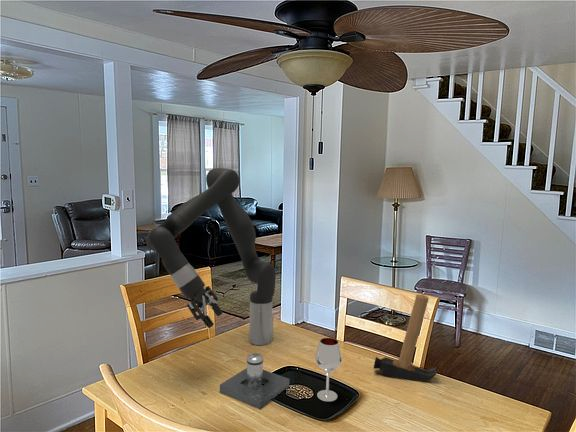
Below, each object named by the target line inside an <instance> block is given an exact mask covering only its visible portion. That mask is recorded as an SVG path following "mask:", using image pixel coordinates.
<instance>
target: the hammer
mask: <svg viewBox="0 0 576 432" xmlns="http://www.w3.org/2000/svg"><path fill="white" fill-rule="evenodd" d="M429 299H430V298H429V296H426V295H424V294H416V296H415V299H414V303H413V306H412V311H411V313H410V317H409V321H408V324H407V329H406V332H405V336H404V339H403V344H402V347H401V350H400V355H399V358H398V359H392V358H389V357H387V356H386V357H383V358H381V359H380V358H379V357H378V356H375V358H374V364H373V369H375V370H376V369H377V370H378V369H379V371H380V373H381V374H382V375H385V376H388V377H391V378H394V379H398V380H403V381H405V380H406V381H412V382H418V383H427V382H429V381H431V380H433V378H434V377H435V376H436V375H437V371H436V366H433V368H428V369H427V368H421V367H418V366H415V365H413V364H412V362H413V356H414V353H415V350H416V346H417V342H418V339H419V335H420V332H421V328H422V324H423V320H424V317H425V313H426V310H427V306H428V303H429Z"/></svg>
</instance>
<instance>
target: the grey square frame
mask: <svg viewBox="0 0 576 432" xmlns="http://www.w3.org/2000/svg"><path fill="white" fill-rule="evenodd" d="M262 384H264V385H262V387H261V388H259V389H258V390H256V389H254V388H251V387H249V386H247V367H246V368H245V369H242V370H241V371H239V372H238V373H236V374H235V375H233V376H231V377H230V378H229V379H226V380H225V381H223V382H222V383H219V393H220V394H223V395H226V396H228V397H230V398H232V399H235V400H237V401H240V402H242V403H244V404H247V405H249V406H251V407H255V408H256V409H259V410H261V409H262V408H263V407H264V406H266V405H267V404H268V403H270V402H271V401H272V400H273V399H275V398H276V397H277V396H279V395H280V394H281V393H282V392H284V391H285V390H286V389H288V388H289V387H290V378H288V377H285V376H282V375H280V374H277V373H273V372H271V371H269V370H266V369H263V373H262ZM278 394H279V395H278ZM272 398H273V399H272ZM271 399H272V400H271Z"/></svg>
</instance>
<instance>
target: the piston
mask: <svg viewBox="0 0 576 432" xmlns="http://www.w3.org/2000/svg"><path fill="white" fill-rule="evenodd" d="M263 356H264V355H262V354H261V353H255V352H254V353H250V354H247V355H246V368H247V386H249V387H251V388H254V389H256V390H258V389H259V388H261V387H262V386H263V385H262V373H263V370H264V369H263V366H264V365H263V363H264V357H263Z"/></svg>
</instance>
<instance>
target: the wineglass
mask: <svg viewBox="0 0 576 432" xmlns="http://www.w3.org/2000/svg"><path fill="white" fill-rule="evenodd" d="M342 358H343V356H342V351H341V348H340V343H339V340H338V339H336V338H334V337H333V338H332V337H324V338H321V339H320V340H319V341H318V347H317V350H316V353H315V363H316V366H318V367H319V369H321V370H322V371H323V372H324V373H325V376H326V380H325V382H326V383H325V384H326V385H325V389H322V390H320V391H318V392H317V393H316V394H317V398H318V399H319V400H321V401H323V402H334V401H337V399H338V394H337V393H336V392H335V391H333V390H330V375H331V373H333V372H334V371H336V370H337V369H338V368H339V367H340V365H341V364H342V360H343V359H342Z"/></svg>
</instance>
